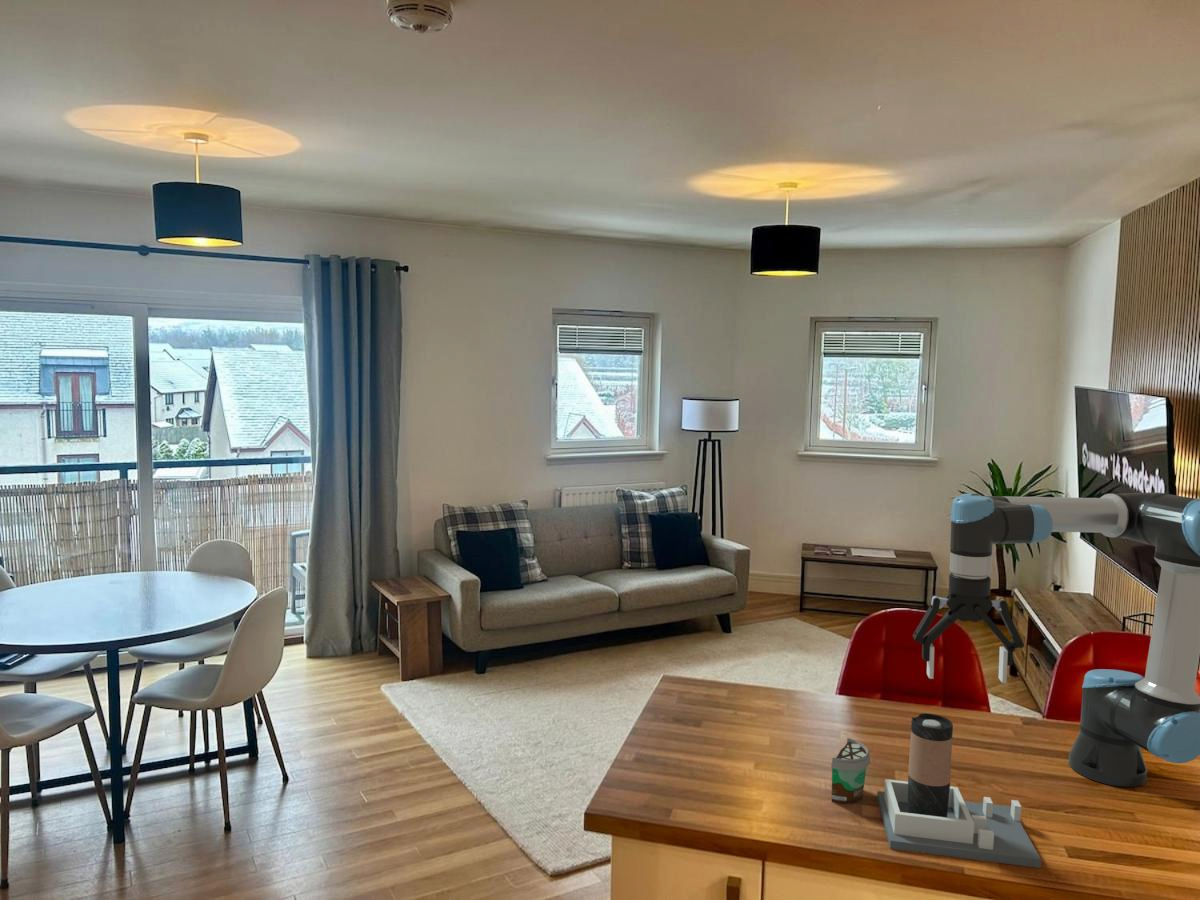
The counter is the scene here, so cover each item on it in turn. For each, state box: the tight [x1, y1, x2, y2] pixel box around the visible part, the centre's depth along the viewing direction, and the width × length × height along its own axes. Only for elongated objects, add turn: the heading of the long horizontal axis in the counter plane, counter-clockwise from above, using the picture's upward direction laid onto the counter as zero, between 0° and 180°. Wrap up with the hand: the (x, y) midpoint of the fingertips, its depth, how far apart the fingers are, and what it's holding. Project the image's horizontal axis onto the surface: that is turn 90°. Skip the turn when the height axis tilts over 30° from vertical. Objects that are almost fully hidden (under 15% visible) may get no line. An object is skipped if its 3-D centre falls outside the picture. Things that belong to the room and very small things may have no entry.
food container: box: [830, 737, 871, 805], centre depth 173 cm, size 12×6×10 cm, turn 148°
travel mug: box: [907, 712, 954, 818], centre depth 161 cm, size 8×8×20 cm
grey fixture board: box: [876, 790, 1042, 869], centre depth 161 cm, size 26×19×2 cm
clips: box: [972, 796, 1023, 850], centre depth 159 cm, size 10×14×3 cm
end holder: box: [883, 778, 974, 844], centre depth 162 cm, size 14×14×4 cm
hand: (965, 678), depth 165 cm, fingers open, 13 cm apart
